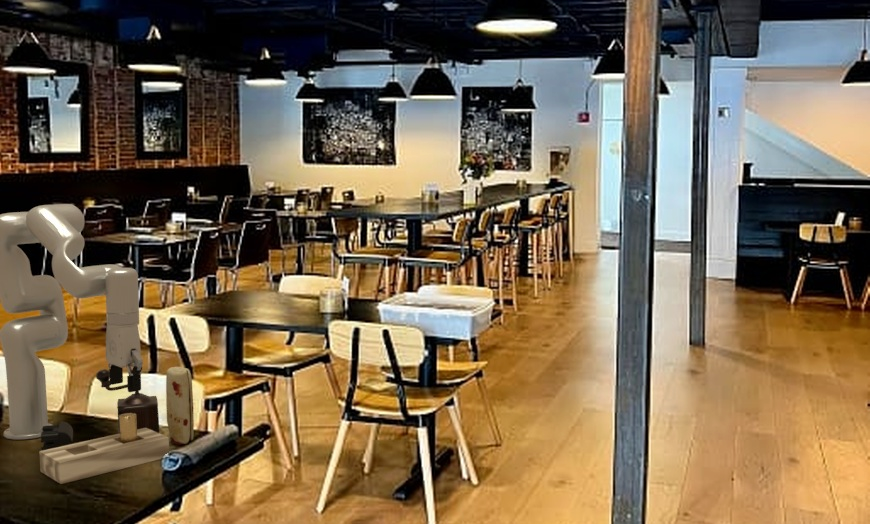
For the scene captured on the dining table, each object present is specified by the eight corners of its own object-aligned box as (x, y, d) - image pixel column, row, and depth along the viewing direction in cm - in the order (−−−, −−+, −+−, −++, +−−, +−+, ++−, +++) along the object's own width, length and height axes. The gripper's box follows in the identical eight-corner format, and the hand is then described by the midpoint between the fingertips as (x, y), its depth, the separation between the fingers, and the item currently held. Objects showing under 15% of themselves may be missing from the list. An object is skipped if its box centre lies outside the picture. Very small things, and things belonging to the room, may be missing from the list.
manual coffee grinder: (158, 427, 254) (155, 363, 252) (160, 439, 244) (157, 372, 242) (98, 433, 249) (95, 368, 247) (98, 445, 239) (94, 377, 237)
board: (40, 471, 218) (39, 451, 218) (146, 446, 237) (146, 427, 236) (60, 484, 210) (59, 462, 209) (169, 456, 228) (168, 437, 228)
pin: (118, 458, 228) (116, 415, 226) (133, 454, 230) (131, 412, 229) (125, 462, 225) (123, 418, 223) (141, 458, 227) (139, 415, 226)
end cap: (72, 456, 230) (71, 430, 229) (41, 460, 227) (40, 433, 227) (73, 445, 239) (72, 419, 238) (44, 448, 237) (42, 422, 236)
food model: (164, 439, 243) (161, 365, 241) (189, 435, 246) (186, 362, 244) (171, 449, 234) (168, 372, 232) (197, 445, 237) (194, 369, 235)
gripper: (92, 315, 227) (95, 383, 229) (124, 325, 215) (126, 397, 217) (121, 312, 232) (123, 378, 235) (154, 321, 220) (156, 391, 222)
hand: (125, 387), depth 226 cm, fingers open, 9 cm apart
